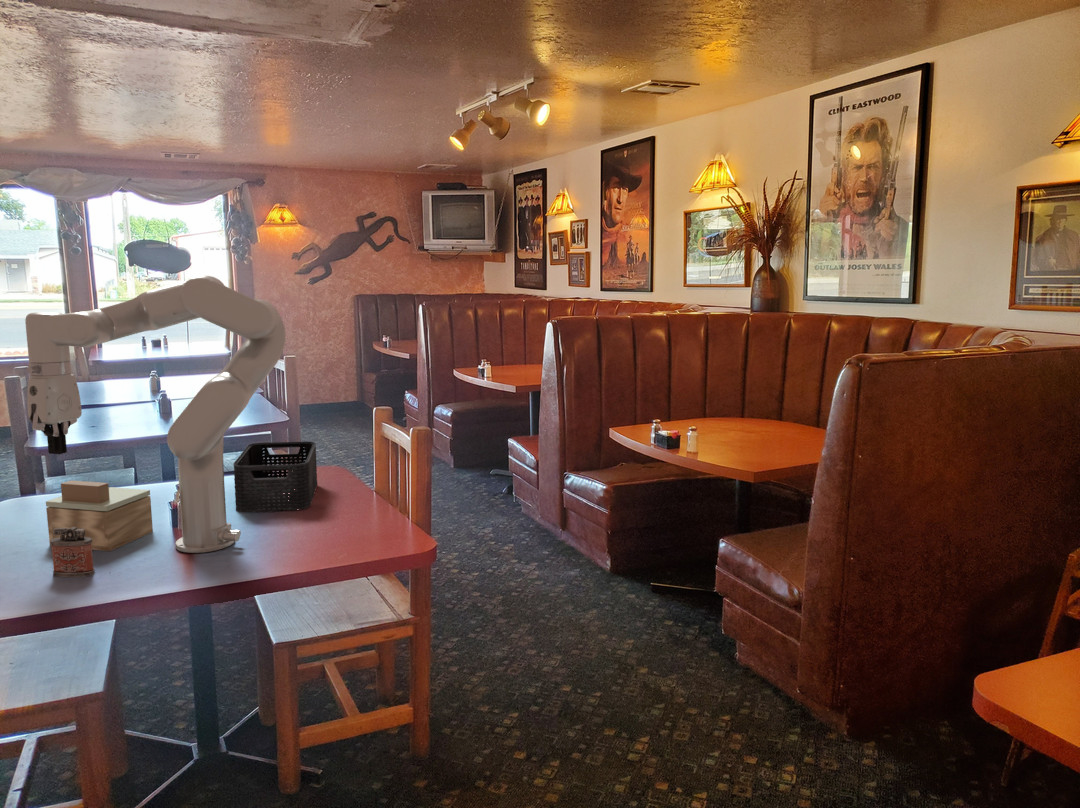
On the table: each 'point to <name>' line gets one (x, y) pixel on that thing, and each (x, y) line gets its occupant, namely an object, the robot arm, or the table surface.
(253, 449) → the storage bin
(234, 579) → the table surface
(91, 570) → the lighter
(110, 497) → the lid
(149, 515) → the wooden box
